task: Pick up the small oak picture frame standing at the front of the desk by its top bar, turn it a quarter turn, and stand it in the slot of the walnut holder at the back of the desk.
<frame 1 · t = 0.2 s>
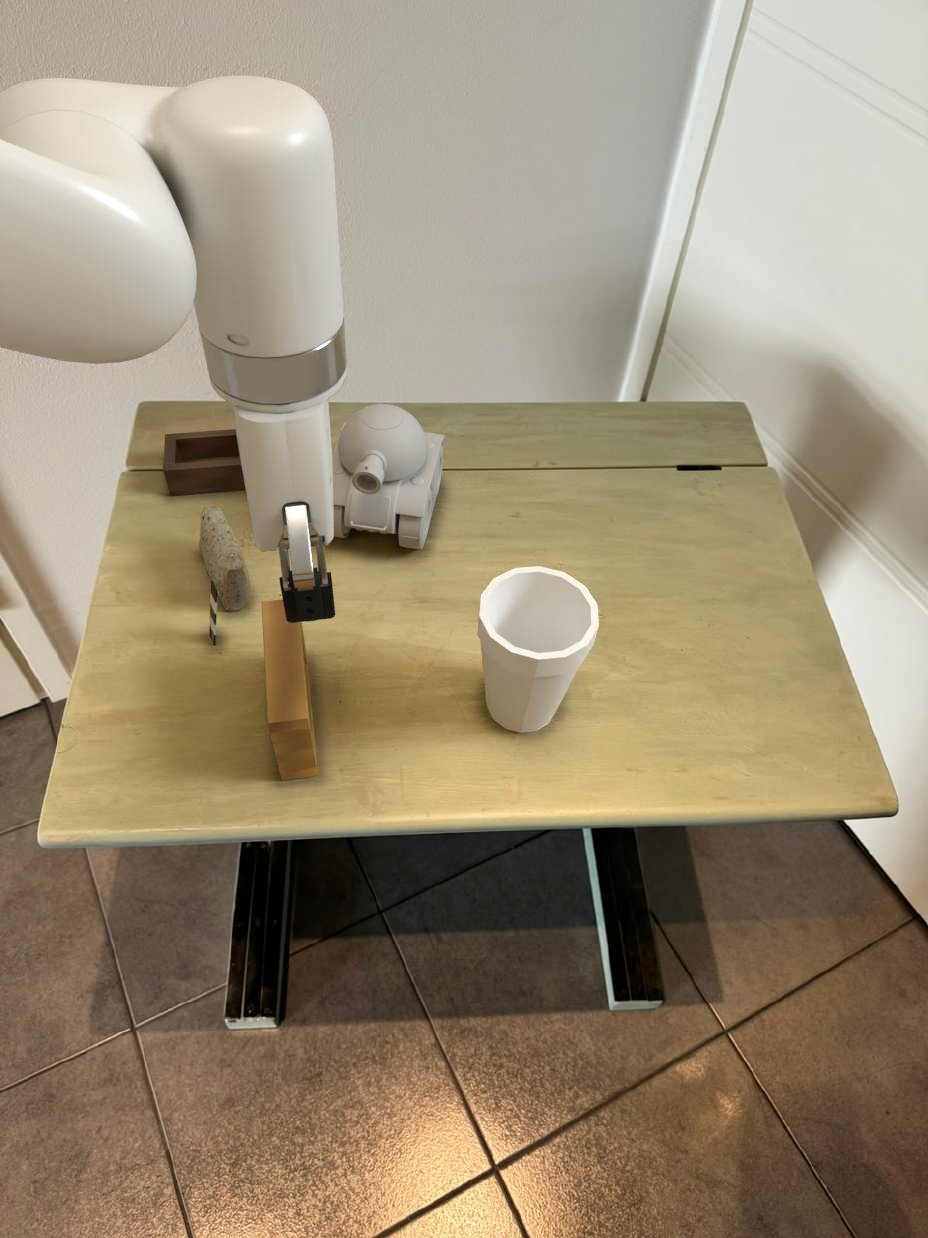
hand: (305, 563, 58), 19 cm above the table, tool pointing down, fingers open, 9 cm apart
toy tank: (384, 513, 90), on the table
holder: (240, 471, 92), on the table
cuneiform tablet: (223, 593, 81), on the table
foam cup: (521, 703, 75), on the table
frame: (295, 717, 73), on the table
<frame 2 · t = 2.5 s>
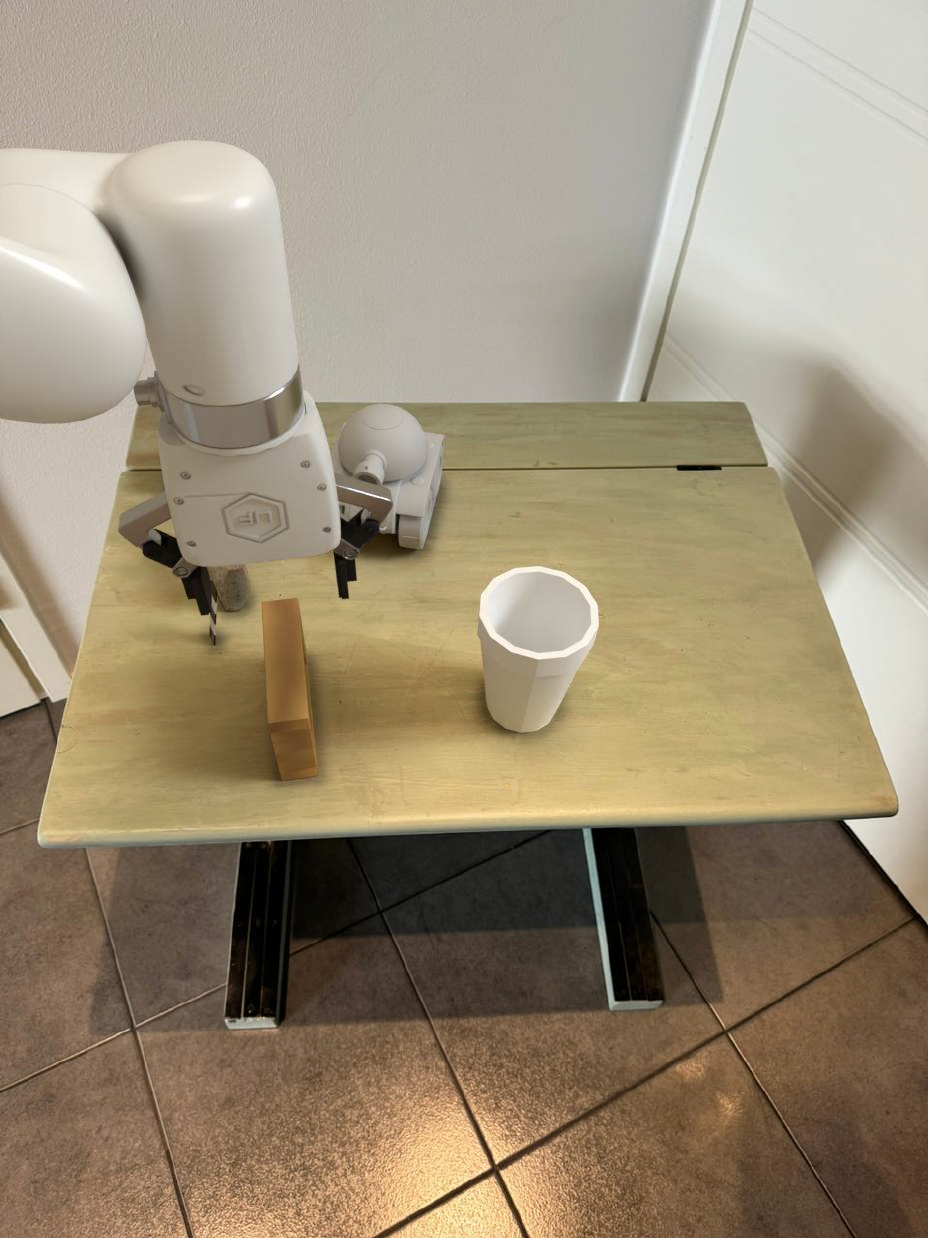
hand: (275, 592, 60), 17 cm above the table, tool pointing down, fingers open, 9 cm apart
nothing on the table moved.
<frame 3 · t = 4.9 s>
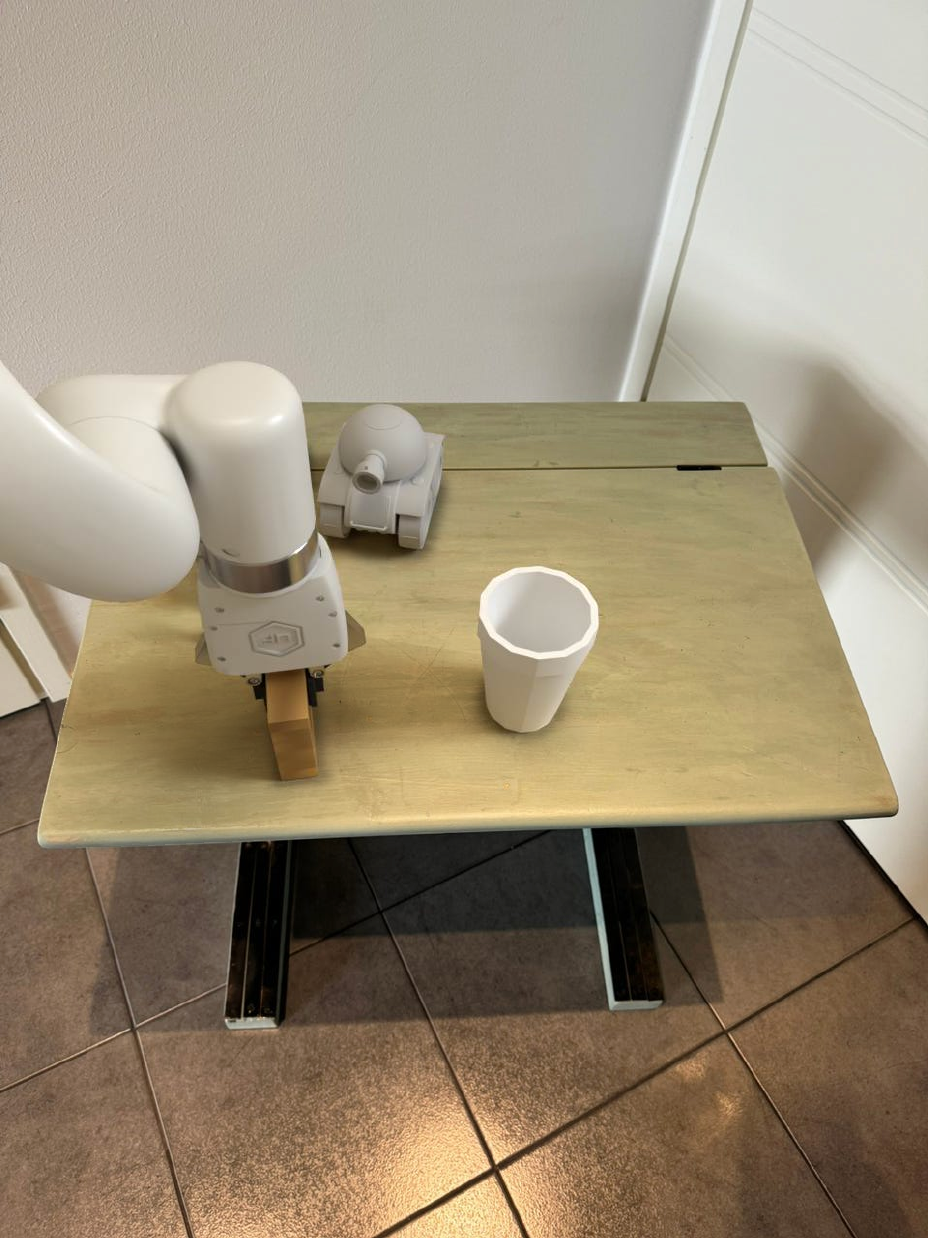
hand: (291, 694, 70), 4 cm above the table, tool pointing down, fingers closed on frame, 2 cm apart
frame: (295, 717, 73), on the table, touching gripper
everything else where it was.
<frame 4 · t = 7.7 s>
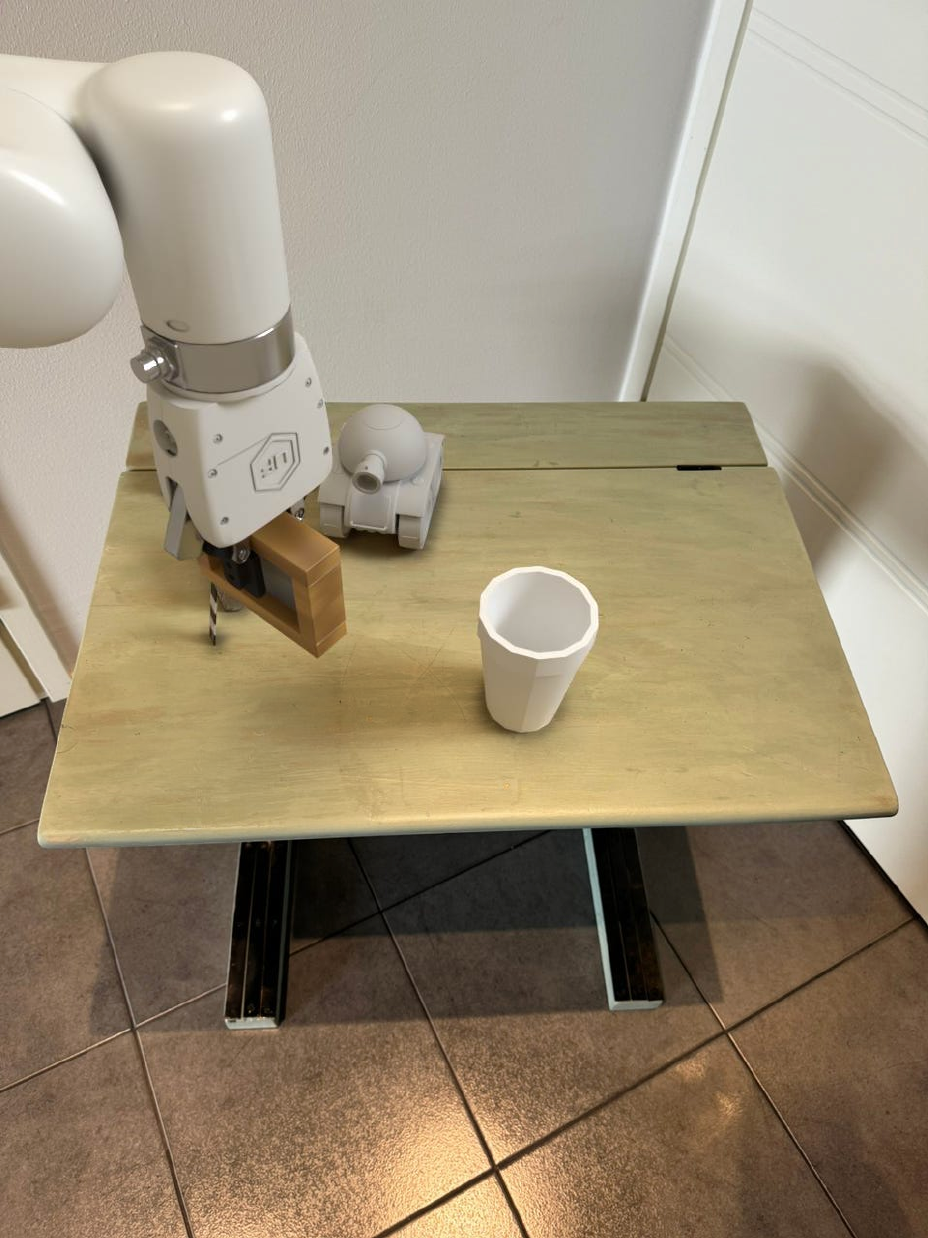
hand: (266, 570, 58), 19 cm above the table, tool pointing down, fingers closed on frame, 2 cm apart
frame: (272, 603, 61), point 15 cm above the table, touching gripper
everything else where it was.
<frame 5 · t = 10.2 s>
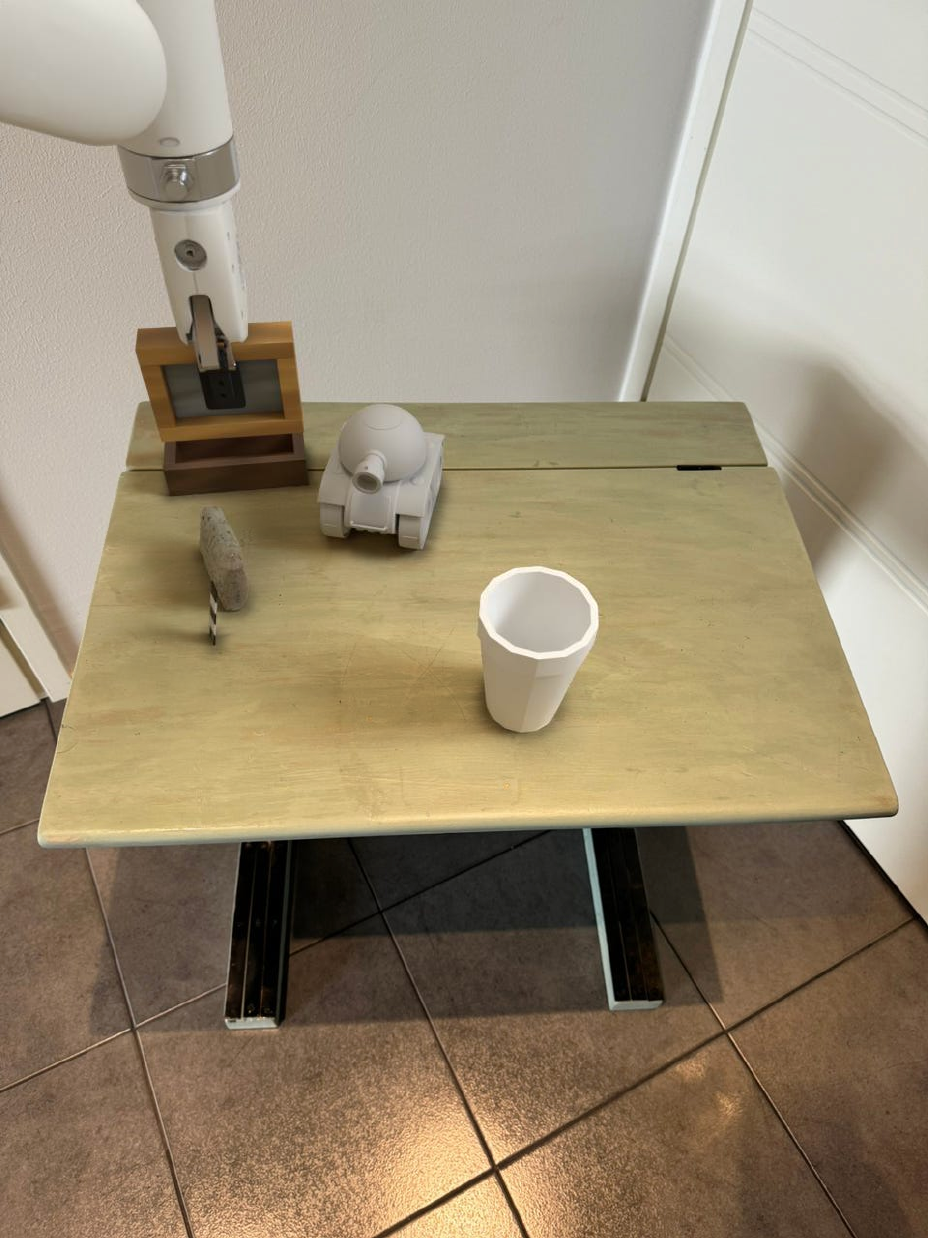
hand: (226, 391, 70), 19 cm above the table, tool pointing down, fingers closed on frame, 2 cm apart
frame: (233, 426, 73), point 16 cm above the table, touching gripper
everything else where it was.
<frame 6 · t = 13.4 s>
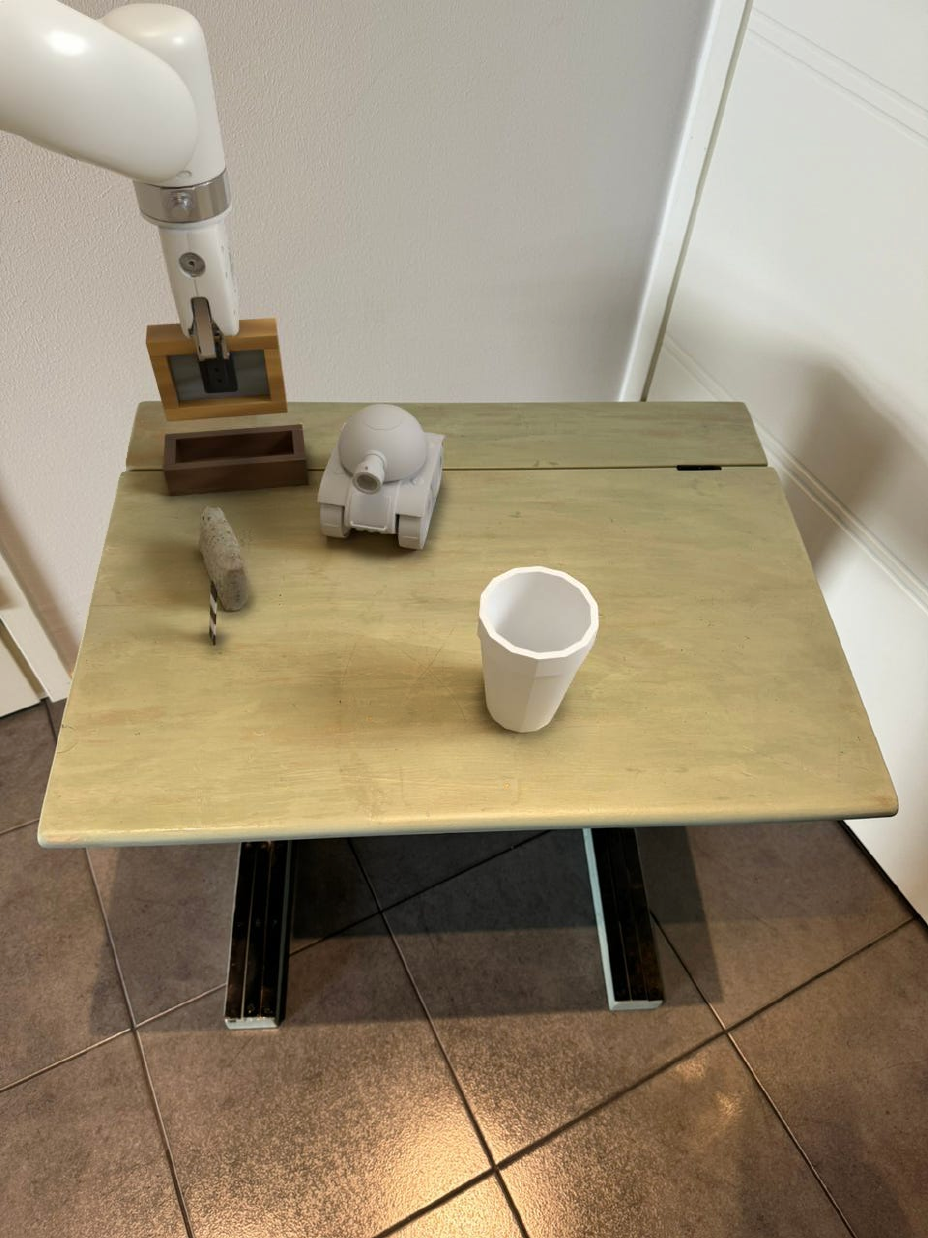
hand: (221, 378, 83), 12 cm above the table, tool pointing down, fingers closed on frame, 2 cm apart
frame: (227, 408, 86), point 9 cm above the table, touching gripper
everything else where it was.
when the fingers open (4 cm above the table, at t = 15.8 s): frame stays where it is, resting on holder.
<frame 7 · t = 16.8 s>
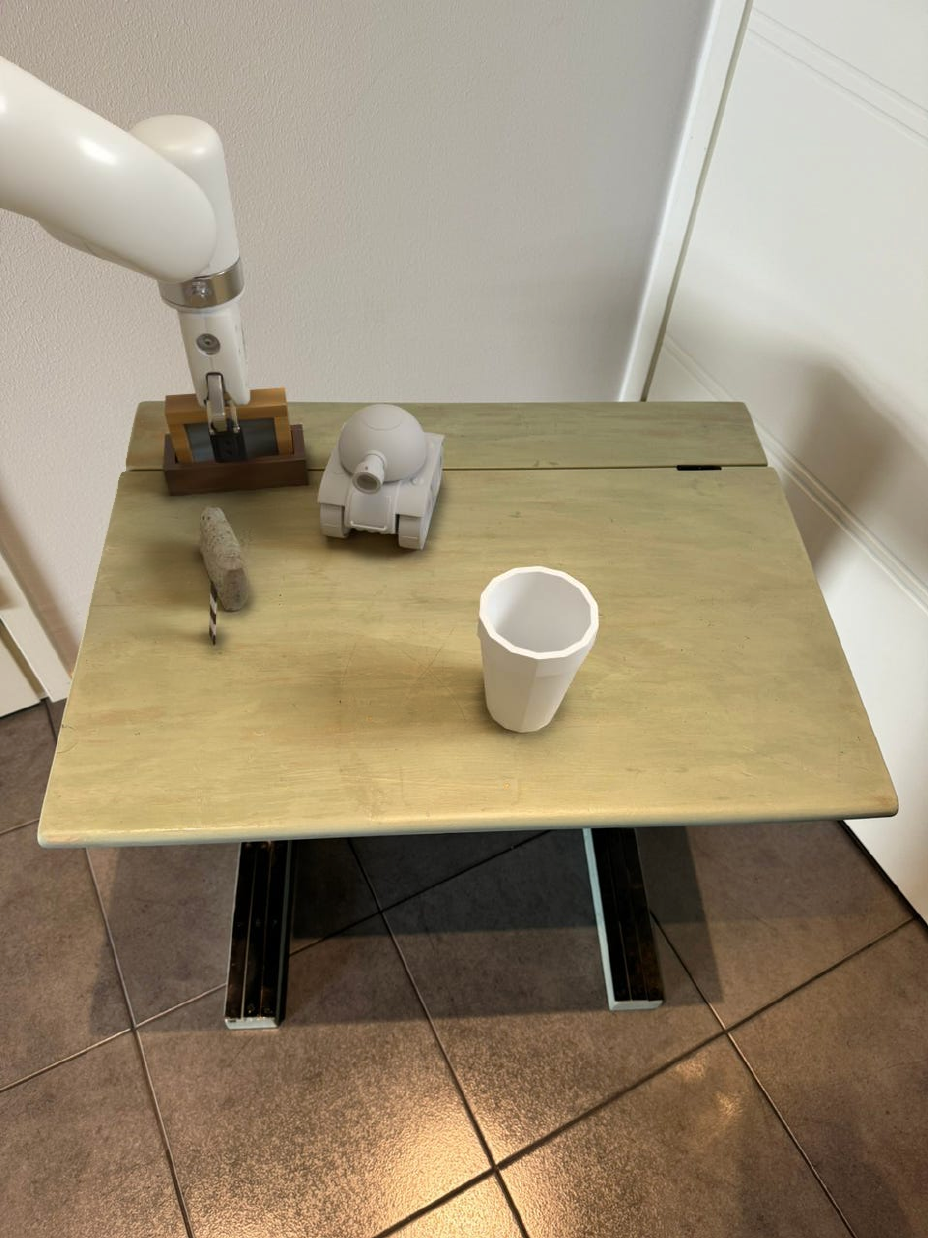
hand: (230, 430, 88), 6 cm above the table, tool pointing down, fingers open, 9 cm apart
frame: (239, 467, 92), point 1 cm above the table, touching holder
everything else where it was.
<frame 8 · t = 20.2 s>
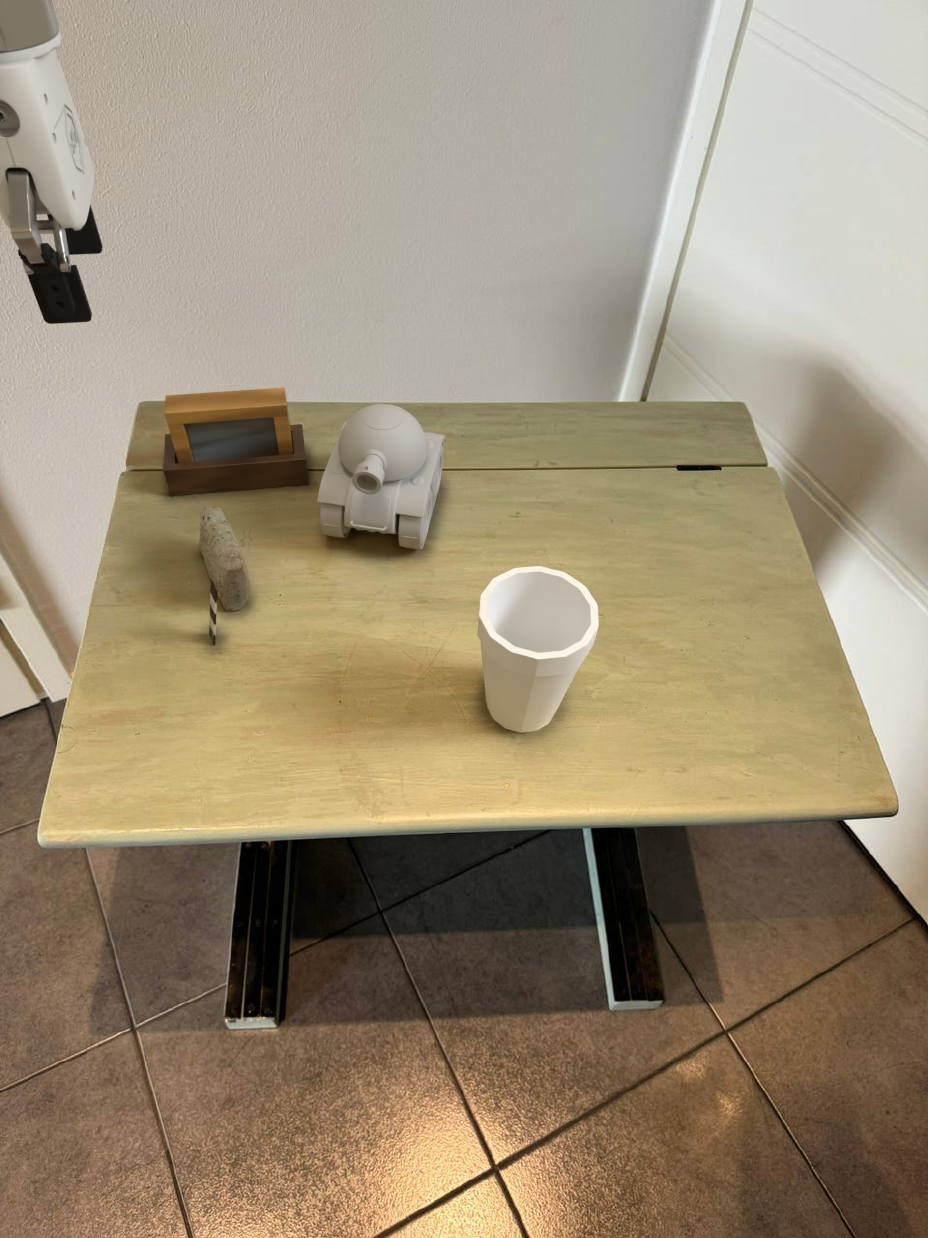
hand: (76, 284, 63), 28 cm above the table, tool pointing down, fingers open, 9 cm apart
nothing on the table moved.
at the end: frame 0.1 cm off-centre on the holder, point 0.6 cm above the holder's base; frame tilted 0°; the gripper is holding nothing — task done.
